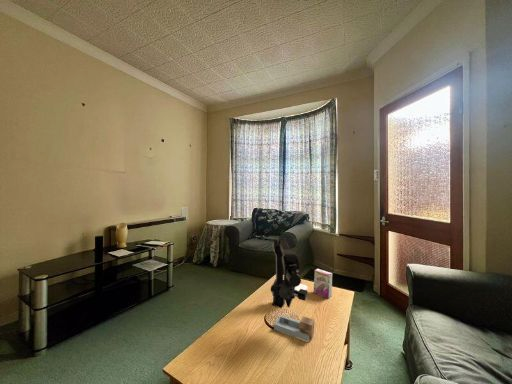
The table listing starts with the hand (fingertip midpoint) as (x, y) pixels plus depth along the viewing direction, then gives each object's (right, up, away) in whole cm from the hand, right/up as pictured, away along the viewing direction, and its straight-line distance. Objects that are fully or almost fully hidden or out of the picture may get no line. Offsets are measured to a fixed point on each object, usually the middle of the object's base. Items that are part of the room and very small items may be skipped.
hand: (288, 306), depth 112 cm
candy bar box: (+29, -11, +36) cm, 47 cm away
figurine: (+11, -11, +43) cm, 46 cm away
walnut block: (+9, -11, -4) cm, 15 cm away
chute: (+2, -12, -1) cm, 12 cm away
